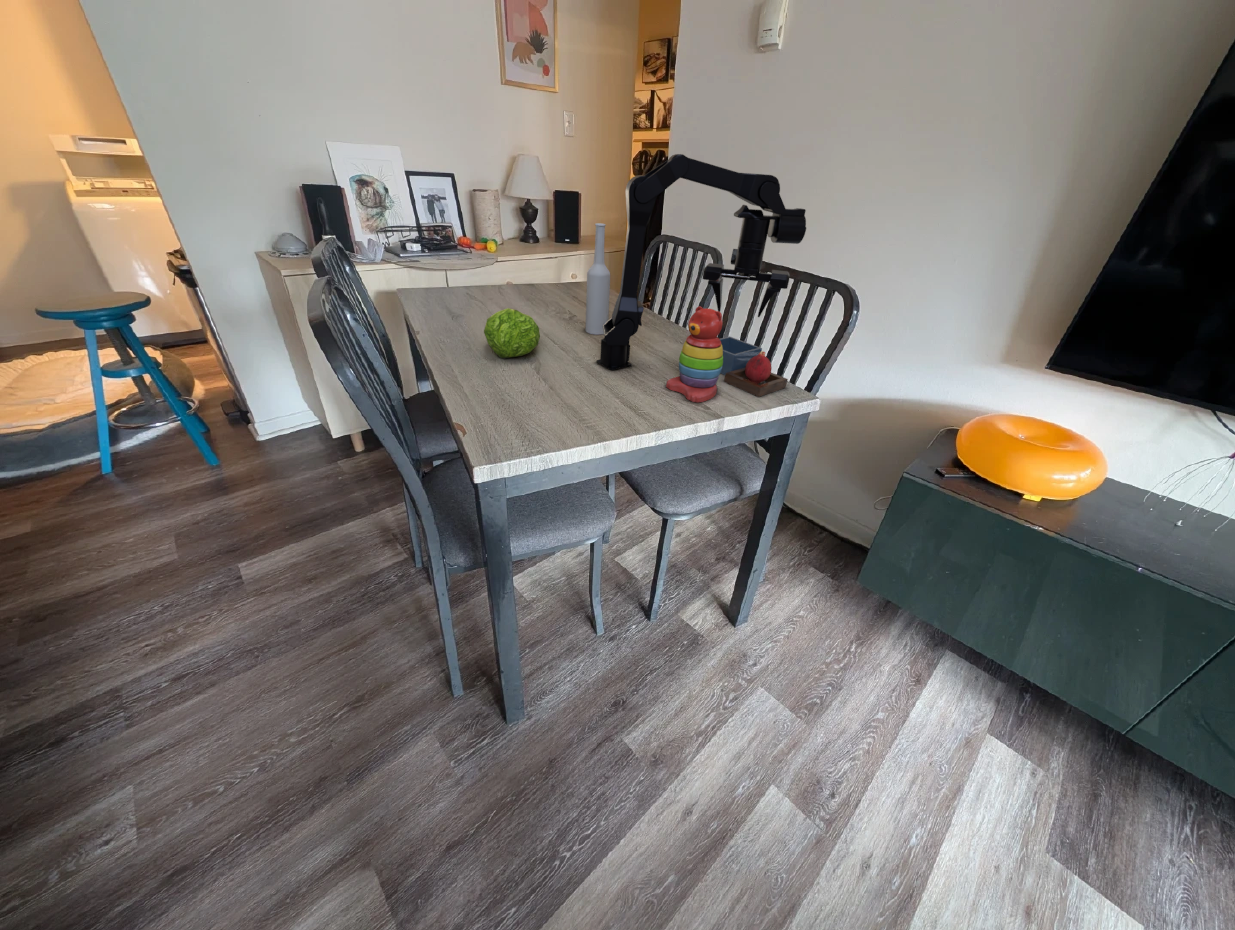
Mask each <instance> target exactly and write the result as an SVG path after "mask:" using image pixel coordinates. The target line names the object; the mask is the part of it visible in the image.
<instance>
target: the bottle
mask: <svg viewBox="0 0 1235 930" xmlns="http://www.w3.org/2000/svg"><path fill="white" fill-rule="evenodd" d="M594 226H595V235H594V236H595V237H594V239H595V240H594V254H593V255H594V256H593V264H592V265H591V266H590V267H589V268H588V270H587V272H586V296H585V297H586V298H585V332H586V333H588V334H590V335H598V336H599V335H604V331H603V325H604V324H605V323H606V322H607V321H608V320H610V295H611V294H610V293H611V271H610V270H609V269H608V267H607V266H606V262H605V239H606V238H605V236H606V226H607V224H605V223H597V222H596V223H595V224H594Z"/></svg>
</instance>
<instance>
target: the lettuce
mask: <svg viewBox="0 0 1235 930" xmlns="http://www.w3.org/2000/svg"><path fill="white" fill-rule="evenodd" d="M483 334H484V336H485V339H486V342H487V344H488V345H489V347H490V348H491V350H492V351H493V352H494V354H496V355H497V356H498V357H499V358H501V359H504V358H505V359H506V358H507V359H508V358H516V357H517V358H518V357H522V356H526V355H527V354H530V353H531V352H532V351H533V350H534V349H535V348H536V347H537V346H538V345H539V342H540V338H541V333H540V327H539V325H538V324H537V323H536V321H535V319H533V317H532V316H530V315H529V314H525V313H523V312H521V311H519V310H518V309H514V308H510V307H508V308H504V309H502V310H498V311H497V312H495V313H494V314H492V315H491V316H489V317H487V318H486V322H485V325H484V329H483Z"/></svg>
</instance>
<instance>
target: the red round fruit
mask: <svg viewBox="0 0 1235 930" xmlns="http://www.w3.org/2000/svg"><path fill="white" fill-rule="evenodd" d="M772 370H773V369H772V363H771V361H770V359H769V358H768V357H767V356H766V352H765V351H764V350H762V351H761V352H760V353H759V354H758V355H756V356H754V357H752V358H751V359H750V360H749V361H748V362H747V364H746V367H745V375H746V377H747V378H746V379H747V380H749V381H751V382H754V383H756V384H758V385H760V384H762V383H763V382H765V380H766V379H768V377H769V376H770V374H771V373H772Z"/></svg>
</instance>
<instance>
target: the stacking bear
mask: <svg viewBox="0 0 1235 930" xmlns="http://www.w3.org/2000/svg"><path fill="white" fill-rule="evenodd" d="M694 311H695V312H694V313H692V315H691V317H690V318H689V320H688V323H687V327H688V331H689V333H690V334H689V335H688V336H687V337H686V338H685V340H684V342H683V345H682V348H681V351H680V353H679V357H678V371H679V372H678V373H679V375H678V376H675V377H673V378H669V379H667V381H666V384H665V387H666V388H667V389H668V390H671V392H672V391H673V392H676V393H680V394H682V395H684V396H685V398H686V400H688V401H690V402H692V403H702V402H706V401H709V400H711V399H713V398H714V397H715V396H716V395H717V392H718V386H717V382H718V380H719V378H720V375H721V370H722V365H723V347H722V344H721V341H720V339H721V338H719V337H718V336H719V335H720V334H721V331H722V329H723V314H722V312H721V311H720V312H719V311H718V310H715V309H713V308H704V307H703V306H701V305H700V306H697V307H696V308H695V310H694Z"/></svg>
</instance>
